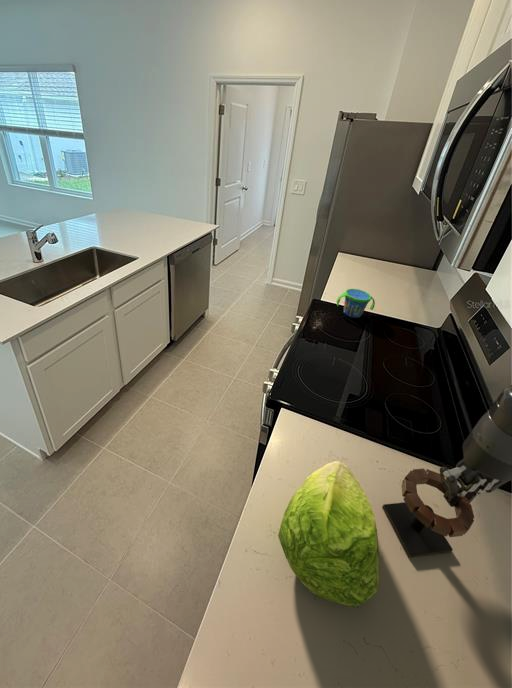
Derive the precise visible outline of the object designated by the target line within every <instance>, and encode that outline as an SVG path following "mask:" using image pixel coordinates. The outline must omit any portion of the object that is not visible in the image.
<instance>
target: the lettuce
mask: <svg viewBox="0 0 512 688" xmlns="http://www.w3.org/2000/svg"><path fill="white" fill-rule="evenodd" d="M371 506H372V505H371V503H370V501H369V499H368V497H367V495H366V493H365V491H364V489H363V487H362V486H361V484H360V483H359V481H358V480H357V478H356V477H355V475H354V474H353V472H352V471H351V470H350V468H348V467H347V465H346V464H345V463H344V462H341V461H339V460H335V461H331V462H328V463H327V464H325V465H323V466H322V467H319V468H318V469H316V470H314V471H313V472H312V473H311V474H309V475H308V476H307V477H306V478H305V480H304V482H303V483H302V485H301V486H300V487H299V488H298V489H297V490H296V492H295V493H294V494H293V495H292V497H291V499H290V501H289V502H288V505H287V507H286V509H285V511H284V514H283V517H282V519H281V523H280V526H279V531H278V535H277V537H278V540H279V542H280V546H281V548H282V551H283V553H284V556H285V559H286V561H287V564H288V565H289V567H290V569H291V571H292V573H294V575H295V576H296V578H297V579H298V580H299V581H300V583H302V584H303V586H304V587H306V589H308V590H309V591H310V592H311V593H312V594H314V595H317V596H318V597H320V598H321V599H324V600H327V601H329V602H332V603H336V604H341V605H343V606H344V605H345V606H348V607H351V608H355V607H357V606H358V607H359V606H363V605H364V604H365V603H366V602H367V601H368V600H369V599H371V598H372V597H373V596H375V594H377V593H378V587H379V582H380V575H379V574H380V569H379V568H380V567H379V555H380V550H379V537H378V529H377V528H378V527H377V524H376V519H375V516H374V515H375V514H374V512H373V509H372V507H371Z"/></svg>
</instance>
